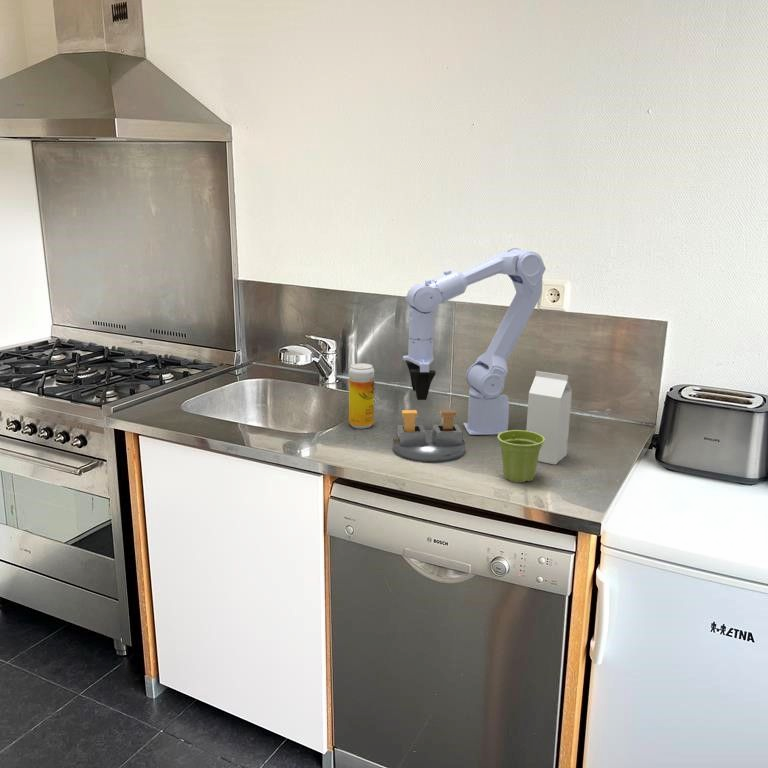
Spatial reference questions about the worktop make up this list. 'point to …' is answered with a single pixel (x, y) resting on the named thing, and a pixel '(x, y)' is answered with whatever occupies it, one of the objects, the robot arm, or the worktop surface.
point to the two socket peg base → (431, 441)
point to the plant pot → (520, 454)
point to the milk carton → (550, 414)
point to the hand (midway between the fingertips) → (419, 394)
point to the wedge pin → (409, 420)
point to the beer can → (361, 395)
